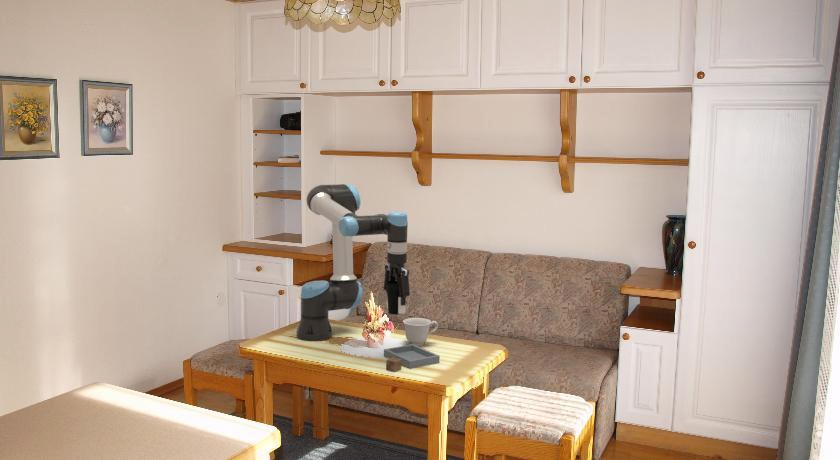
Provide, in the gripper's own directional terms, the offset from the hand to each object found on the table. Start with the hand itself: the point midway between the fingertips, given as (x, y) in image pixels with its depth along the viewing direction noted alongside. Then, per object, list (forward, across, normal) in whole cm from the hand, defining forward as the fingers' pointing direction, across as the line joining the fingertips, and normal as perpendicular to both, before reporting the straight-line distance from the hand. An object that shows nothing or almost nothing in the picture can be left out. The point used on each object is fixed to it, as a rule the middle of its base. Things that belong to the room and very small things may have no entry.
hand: (395, 311), depth 296 cm
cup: (+1, 0, 0) cm, 1 cm away
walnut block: (+20, +9, -6) cm, 23 cm away
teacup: (+20, -14, +21) cm, 32 cm away
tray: (+20, +2, +6) cm, 21 cm away
